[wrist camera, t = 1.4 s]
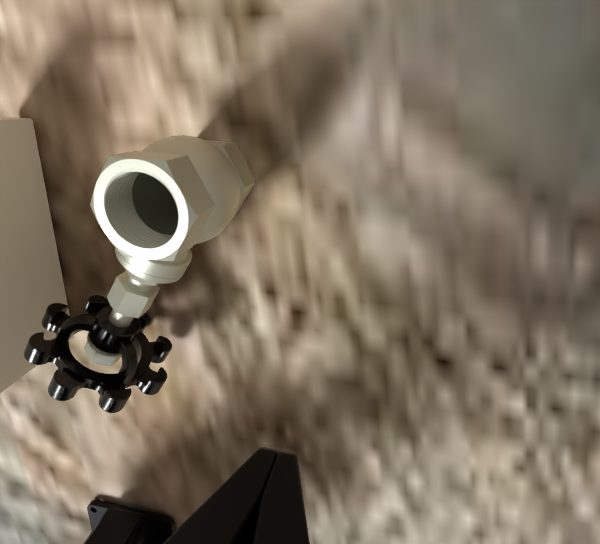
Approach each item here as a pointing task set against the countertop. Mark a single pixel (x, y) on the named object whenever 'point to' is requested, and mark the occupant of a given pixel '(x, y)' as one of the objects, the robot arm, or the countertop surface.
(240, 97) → the countertop surface
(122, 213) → the valve
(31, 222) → the white t-shaped slider
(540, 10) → the countertop surface
